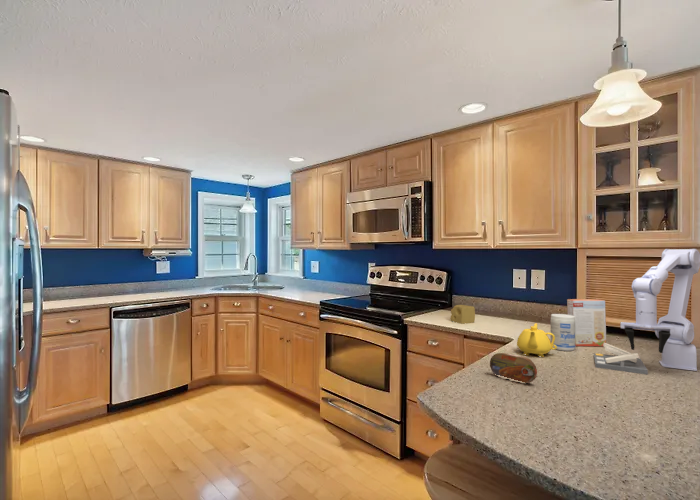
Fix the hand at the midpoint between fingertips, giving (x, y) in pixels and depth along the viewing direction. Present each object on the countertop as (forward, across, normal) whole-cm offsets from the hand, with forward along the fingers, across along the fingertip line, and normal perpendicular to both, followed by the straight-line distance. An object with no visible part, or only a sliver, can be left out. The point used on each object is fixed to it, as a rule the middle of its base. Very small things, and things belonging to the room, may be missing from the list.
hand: (646, 350), depth 127 cm
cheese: (+8, -80, +62) cm, 102 cm away
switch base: (+8, -8, +6) cm, 12 cm away
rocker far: (+4, -7, +12) cm, 14 cm away
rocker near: (+4, -7, 0) cm, 8 cm away
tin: (+8, -39, -32) cm, 51 cm away
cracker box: (+8, -17, +35) cm, 40 cm away
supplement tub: (+8, -26, +22) cm, 35 cm away
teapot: (+8, -35, +6) cm, 37 cm away
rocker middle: (+4, -7, +6) cm, 10 cm away
